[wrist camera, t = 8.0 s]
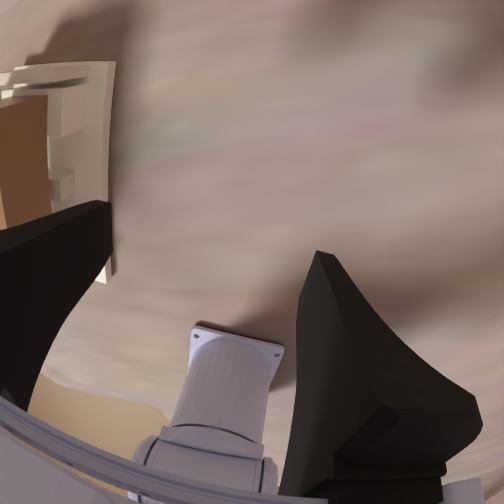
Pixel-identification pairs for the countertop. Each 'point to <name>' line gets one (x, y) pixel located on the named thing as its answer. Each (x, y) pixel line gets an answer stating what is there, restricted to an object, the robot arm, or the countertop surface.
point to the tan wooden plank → (23, 160)
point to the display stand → (73, 128)
